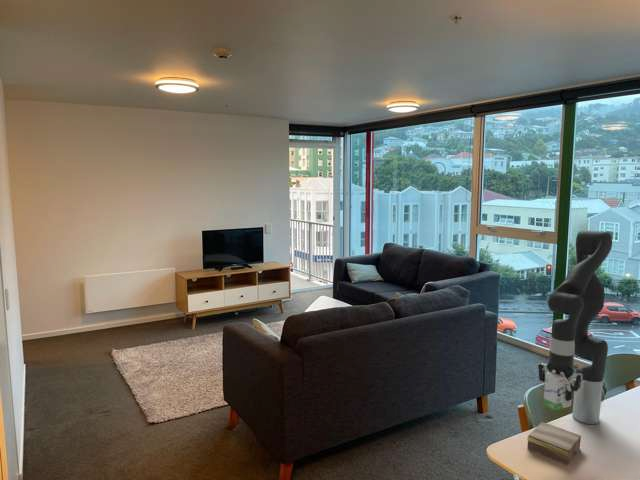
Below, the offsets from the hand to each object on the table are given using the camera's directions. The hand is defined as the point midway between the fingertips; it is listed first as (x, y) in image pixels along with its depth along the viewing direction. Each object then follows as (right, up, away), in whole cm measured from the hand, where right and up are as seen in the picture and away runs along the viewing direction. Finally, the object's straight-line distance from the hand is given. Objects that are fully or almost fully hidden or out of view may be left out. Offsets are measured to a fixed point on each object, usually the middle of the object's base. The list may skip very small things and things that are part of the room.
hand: (557, 396), depth 162 cm
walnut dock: (0, -19, +3) cm, 19 cm away
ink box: (0, -3, 0) cm, 3 cm away
